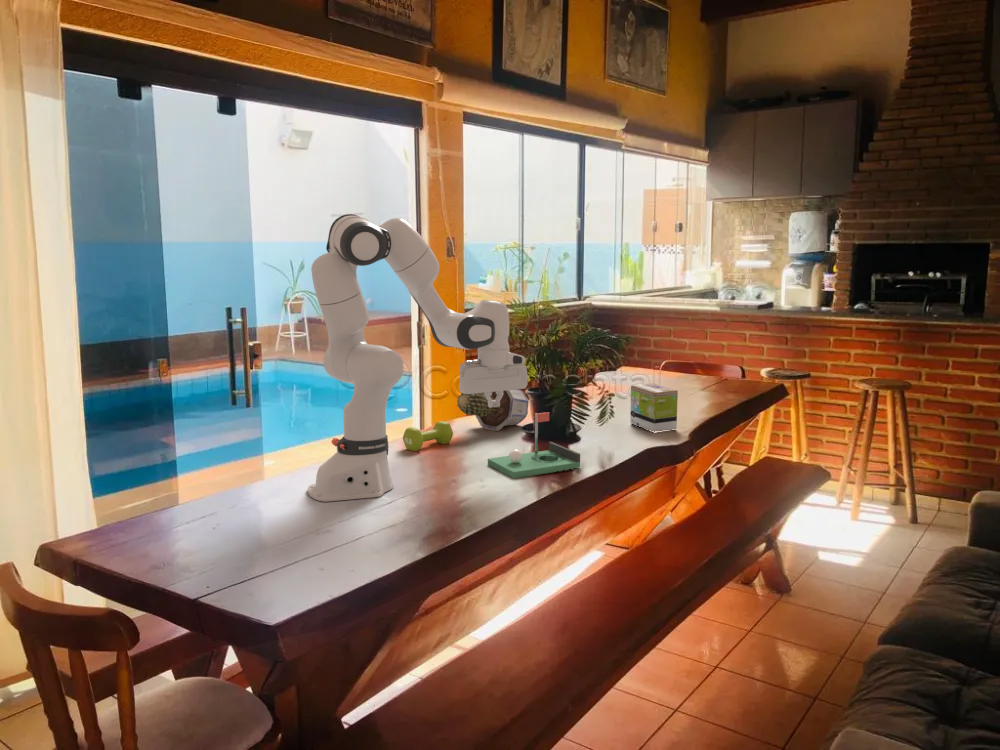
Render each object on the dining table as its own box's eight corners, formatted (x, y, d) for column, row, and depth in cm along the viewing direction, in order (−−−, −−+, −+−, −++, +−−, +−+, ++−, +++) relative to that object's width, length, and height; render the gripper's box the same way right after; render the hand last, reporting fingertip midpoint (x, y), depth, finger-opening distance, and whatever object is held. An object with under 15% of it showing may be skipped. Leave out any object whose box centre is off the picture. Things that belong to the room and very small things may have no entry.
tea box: (629, 425, 290) (629, 384, 288) (652, 422, 294) (653, 382, 292) (653, 434, 276) (654, 391, 274) (677, 431, 281) (679, 389, 278)
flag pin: (535, 459, 245) (536, 413, 242) (534, 458, 245) (534, 413, 243) (549, 457, 247) (549, 412, 245) (548, 456, 248) (548, 411, 245)
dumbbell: (416, 453, 252) (415, 431, 251) (400, 449, 258) (399, 427, 257) (455, 444, 264) (455, 422, 263) (439, 440, 269) (439, 419, 268)
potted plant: (499, 380, 299) (446, 371, 275) (538, 388, 288) (487, 379, 264) (490, 427, 299) (437, 421, 275) (529, 436, 288) (477, 431, 264)
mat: (513, 478, 225) (513, 463, 224) (487, 464, 239) (487, 450, 238) (580, 468, 235) (580, 453, 234) (551, 455, 249) (551, 441, 248)
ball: (512, 465, 231) (512, 452, 230) (506, 462, 235) (506, 448, 234) (525, 463, 233) (525, 450, 232) (518, 460, 236) (518, 447, 236)
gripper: (464, 362, 218) (465, 412, 220) (530, 357, 227) (530, 405, 230) (455, 359, 224) (455, 408, 226) (519, 354, 233) (519, 401, 235)
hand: (493, 406), depth 228 cm, fingers closed
